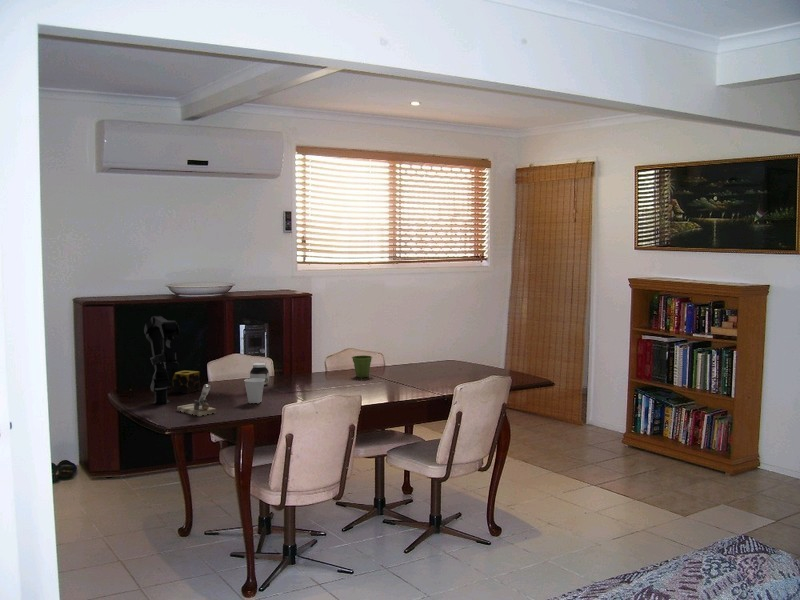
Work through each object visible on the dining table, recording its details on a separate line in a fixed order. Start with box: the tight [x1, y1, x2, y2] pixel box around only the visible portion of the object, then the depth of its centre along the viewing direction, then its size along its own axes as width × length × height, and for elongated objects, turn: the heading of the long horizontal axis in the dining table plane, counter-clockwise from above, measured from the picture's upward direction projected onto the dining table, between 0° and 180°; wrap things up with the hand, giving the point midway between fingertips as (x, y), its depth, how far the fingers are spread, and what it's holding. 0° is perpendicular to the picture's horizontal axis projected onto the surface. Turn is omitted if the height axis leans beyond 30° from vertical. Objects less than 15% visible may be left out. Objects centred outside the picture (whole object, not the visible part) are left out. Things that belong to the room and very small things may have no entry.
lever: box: [198, 383, 211, 406], centre depth 362 cm, size 3×3×11 cm
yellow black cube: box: [172, 370, 201, 394], centre depth 416 cm, size 10×10×10 cm
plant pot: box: [351, 355, 373, 379], centre depth 456 cm, size 12×12×11 cm
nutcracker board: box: [176, 398, 217, 417], centre depth 367 cm, size 18×9×6 cm, turn 48°
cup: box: [243, 378, 265, 404], centre depth 387 cm, size 10×10×11 cm
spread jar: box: [249, 362, 270, 387], centre depth 432 cm, size 12×11×12 cm
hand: (170, 381), depth 373 cm, fingers closed
